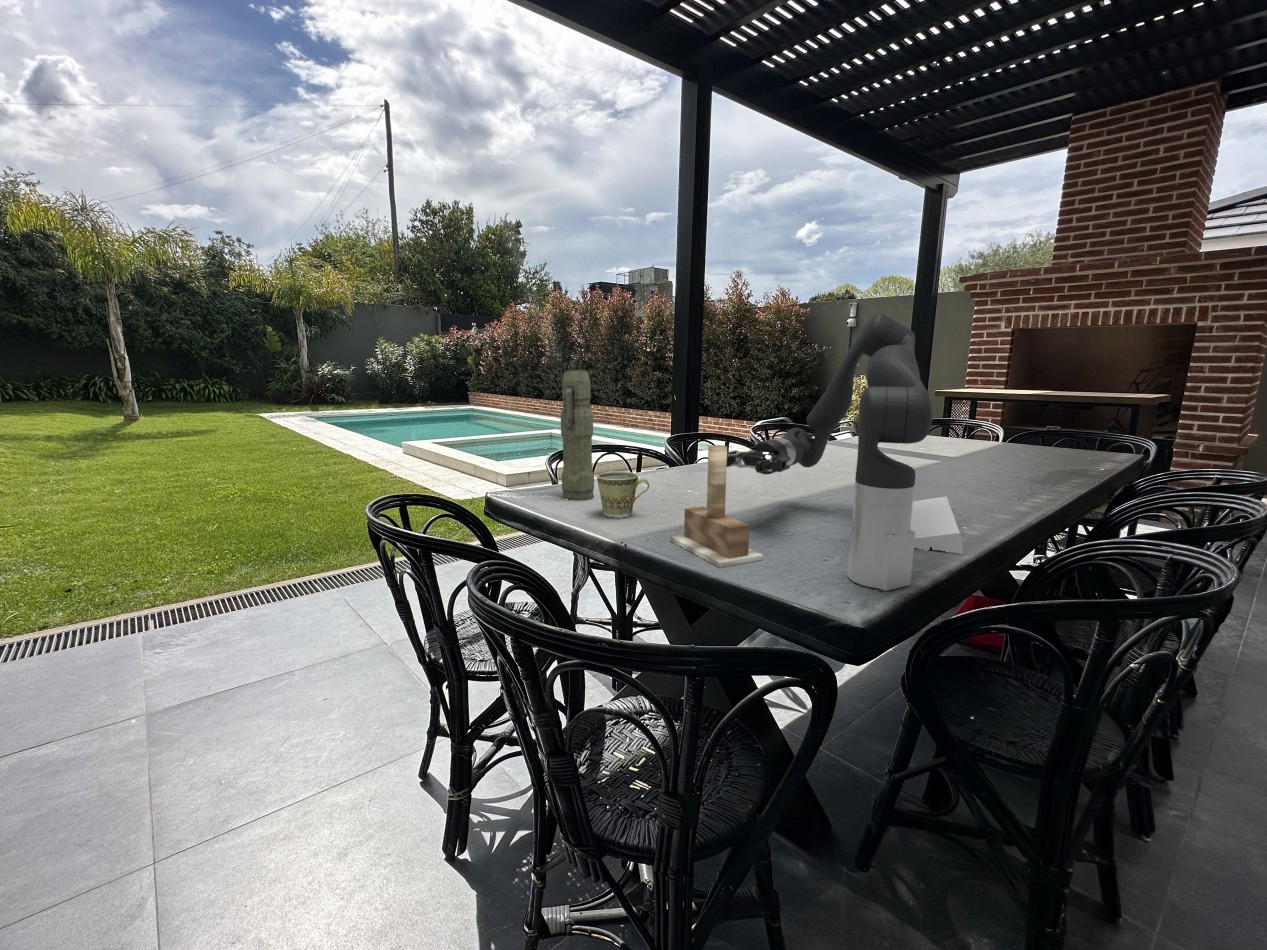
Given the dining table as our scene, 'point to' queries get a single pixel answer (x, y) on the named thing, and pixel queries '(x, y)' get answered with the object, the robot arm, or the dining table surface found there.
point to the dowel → (716, 481)
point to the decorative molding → (935, 526)
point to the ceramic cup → (618, 492)
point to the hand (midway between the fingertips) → (739, 465)
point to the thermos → (577, 436)
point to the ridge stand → (716, 538)
